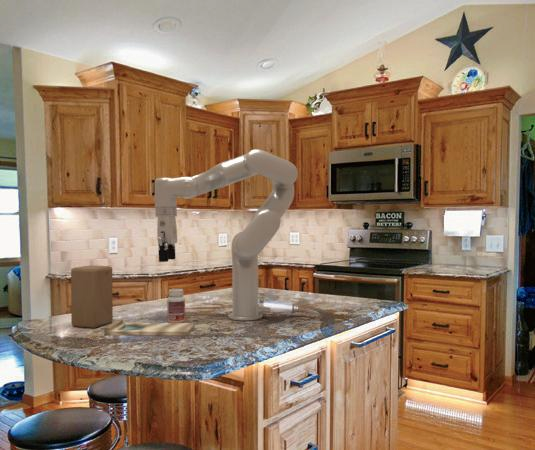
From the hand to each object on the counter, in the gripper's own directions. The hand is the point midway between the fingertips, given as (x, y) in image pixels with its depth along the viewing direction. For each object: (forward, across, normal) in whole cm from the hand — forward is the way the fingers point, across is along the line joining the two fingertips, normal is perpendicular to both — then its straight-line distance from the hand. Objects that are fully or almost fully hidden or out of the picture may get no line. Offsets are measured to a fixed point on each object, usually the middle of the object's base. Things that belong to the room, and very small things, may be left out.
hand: (167, 260), depth 163 cm
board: (+22, -15, +2) cm, 27 cm away
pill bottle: (+22, -1, -3) cm, 22 cm away
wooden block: (+21, -7, +25) cm, 33 cm away
